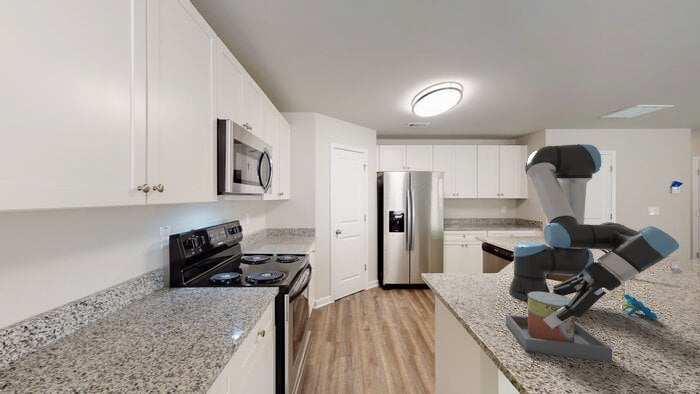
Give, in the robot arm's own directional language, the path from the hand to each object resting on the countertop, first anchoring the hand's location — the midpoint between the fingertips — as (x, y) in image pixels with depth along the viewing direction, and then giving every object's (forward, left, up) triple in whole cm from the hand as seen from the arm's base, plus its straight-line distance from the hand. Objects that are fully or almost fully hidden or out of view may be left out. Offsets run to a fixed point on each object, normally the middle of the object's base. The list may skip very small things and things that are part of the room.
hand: (542, 314), depth 80 cm
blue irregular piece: (-27, +42, -8) cm, 50 cm away
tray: (+1, +2, -7) cm, 8 cm away
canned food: (0, +2, -7) cm, 7 cm away
